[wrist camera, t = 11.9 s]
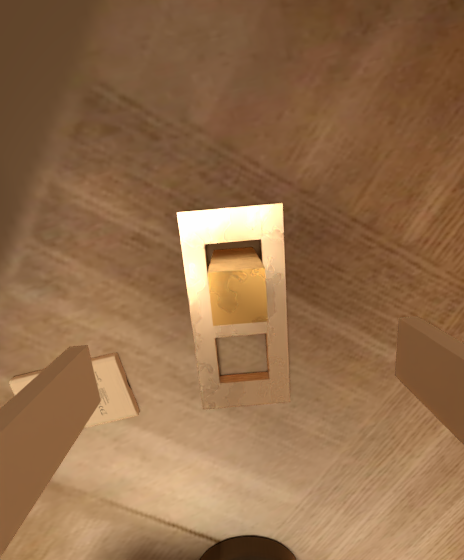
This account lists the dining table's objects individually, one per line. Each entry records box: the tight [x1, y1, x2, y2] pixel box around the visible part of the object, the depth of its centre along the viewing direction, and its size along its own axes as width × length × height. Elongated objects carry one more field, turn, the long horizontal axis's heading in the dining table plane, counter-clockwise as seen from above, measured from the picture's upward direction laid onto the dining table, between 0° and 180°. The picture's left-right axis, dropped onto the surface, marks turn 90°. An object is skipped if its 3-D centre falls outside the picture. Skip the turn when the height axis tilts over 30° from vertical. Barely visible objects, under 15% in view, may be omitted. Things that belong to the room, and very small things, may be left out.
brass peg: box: [207, 247, 268, 326], centre depth 25 cm, size 4×4×10 cm
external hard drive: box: [9, 353, 140, 428], centre depth 33 cm, size 2×8×12 cm
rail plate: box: [177, 203, 290, 409], centre depth 30 cm, size 22×10×2 cm, turn 5°
